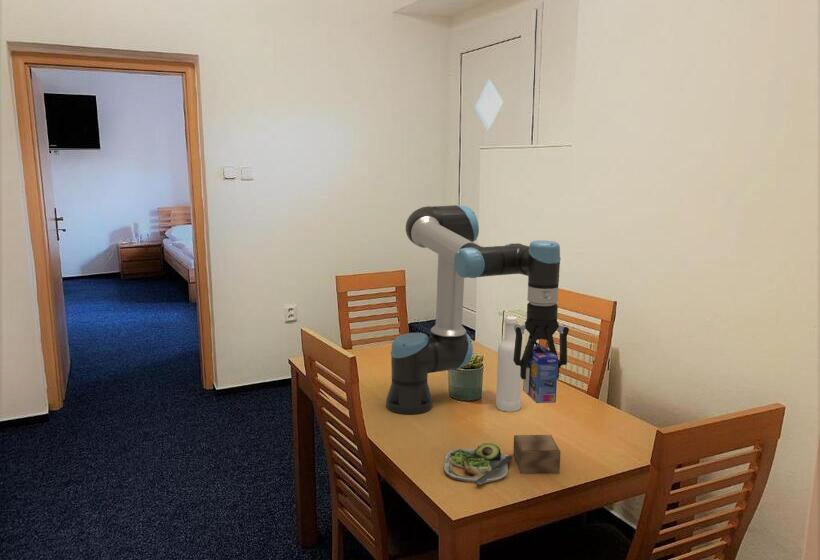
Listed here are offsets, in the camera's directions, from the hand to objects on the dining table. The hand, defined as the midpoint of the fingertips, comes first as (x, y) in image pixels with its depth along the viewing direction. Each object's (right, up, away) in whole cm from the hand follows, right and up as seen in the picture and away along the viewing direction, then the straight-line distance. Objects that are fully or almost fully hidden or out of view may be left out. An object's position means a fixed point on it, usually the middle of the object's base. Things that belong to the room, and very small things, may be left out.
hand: (538, 390), depth 165 cm
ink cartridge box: (0, -2, 0) cm, 2 cm away
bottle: (-1, -13, +43) cm, 45 cm away
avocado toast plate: (-16, -21, +2) cm, 26 cm away
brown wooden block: (0, -20, +4) cm, 20 cm away
